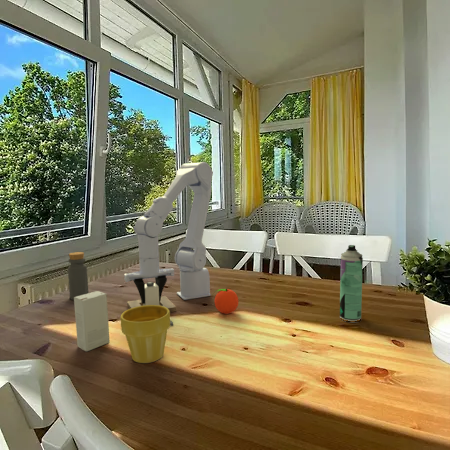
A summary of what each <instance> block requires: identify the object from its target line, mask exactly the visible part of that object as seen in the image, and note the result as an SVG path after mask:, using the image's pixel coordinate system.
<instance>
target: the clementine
mask: <svg viewBox="0 0 450 450" xmlns="http://www.w3.org/2000/svg"><path fill="white" fill-rule="evenodd" d="M215 292H217V293H216V295H215V296H214V306H215V308H216V309H217V311H218V312H219V313H221V314H225V315H227V314H232V313H233V312H235V311H236V310H237V308H238V306H239V301H240V300H239V297H238V294H237V293H236V292H235V291H234V290H232V289H230V288H220V289H216V291H214V293H215Z"/></svg>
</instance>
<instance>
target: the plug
mask: <svg viewBox="0 0 450 450" xmlns="http://www.w3.org/2000/svg"><path fill="white" fill-rule="evenodd" d="M144 294H145V304H143V306H144V305H159V286H158V285H157V284H156V282H153V281H148V282H146V283H145V288H144Z"/></svg>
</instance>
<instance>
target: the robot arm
mask: <svg viewBox="0 0 450 450" xmlns="http://www.w3.org/2000/svg"><path fill="white" fill-rule="evenodd" d="M213 175H214V172H213V170H212V168H211V166H210V165H209V163H208V162H206V161H201V162H192V163H191V162H190V163H183V164H181V165H180V167H179V169H177V170H176V175H175V178H174V179H173V180H172V182H171V183H170V185H169V187H168V188H167V189H166V191H165V193H164V194H163V195H162V196H158V197H157V198H154V199H153V200H152V204H151V205H150V207H149V208H148V209H147V211H145V212H144V214H143V216H140V217H139V218H138V219H137V220H136V221H135V225H134V226H132V227H133V232H134V233H135V234H136V236H137V240H138V258H139V259H138V260H139V261H138V262H139V271H134V272H130V273H124V277H123V278H124V282H125V283H129V282H130V281H133V283H134V284H135V286H136V289H137V291H138V294H139V296H140V300H141V302H142V304H145V294H144V288H145V284H146V283H145V282H144V280H145V279H146V280H147V279H153V278H154V280H155V283H156V284H157V285H158V286H159V301H161V296H162V295H163V291H164V287H165V285H166V283H167V282H168V277H169V276H170V277H174V276H175V269H174V268H172V267H171V268H160V254H159V253H160V252H159V250H160V249H159V236H160V234H161V233H162V231H163V224H164V222H165V220H166V219H167V217H168V216H169V215H170V213H171V212H172V211H173V209H174V205H173V203H174V201H175V200H176V199H177V198H178V196H179V195H180V194H181V193H182V192H183V191H184V189H186V187H187V186H188V187H189V188H190V190H192V192H193V194H194V195H193V198H192V203H191V209H190V213H189V219H188V224H187V228H186V234H185V239H183V241H181V242H180V243H179V245H178V248H177V250H176V252H175V254H174V263H175V264H176V265H177V266H178V270H179V281H180V283H179V285H180V286H179V287H180V291H176V295H178V296H179V298H181V299H182V300H184V301H187V300H192V299H199V298H205V297H210V296H212V294H211V286H210V285H211V284H210V283H211V282H210V281H211V280H210V279H211V277H210V272H209V270H208V268H206V267H205V265H206V262H207V255H206V254H207V247H206V246H205V244H204V243H203V236H204V233H205V232H204V231H205V226H206V220H207V216H208V211H209V206H210V201H211V194H212V180H213Z"/></svg>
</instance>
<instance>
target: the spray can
mask: <svg viewBox="0 0 450 450" xmlns="http://www.w3.org/2000/svg"><path fill="white" fill-rule="evenodd" d="M363 261H364V258H363V254H362V253H360V252H358V249H356V245H355V244H349V245H348V247H347V249H346V250H345V251H344V252H343V253H341V254H340V275H339V276H340V279H339V280H340V283H339V319H340V318H342V319H344V320H348V321H357V320H360V319H361V320H362V305H363V304H362V302H363V301H362V299H363V298H362V296H363Z"/></svg>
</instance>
